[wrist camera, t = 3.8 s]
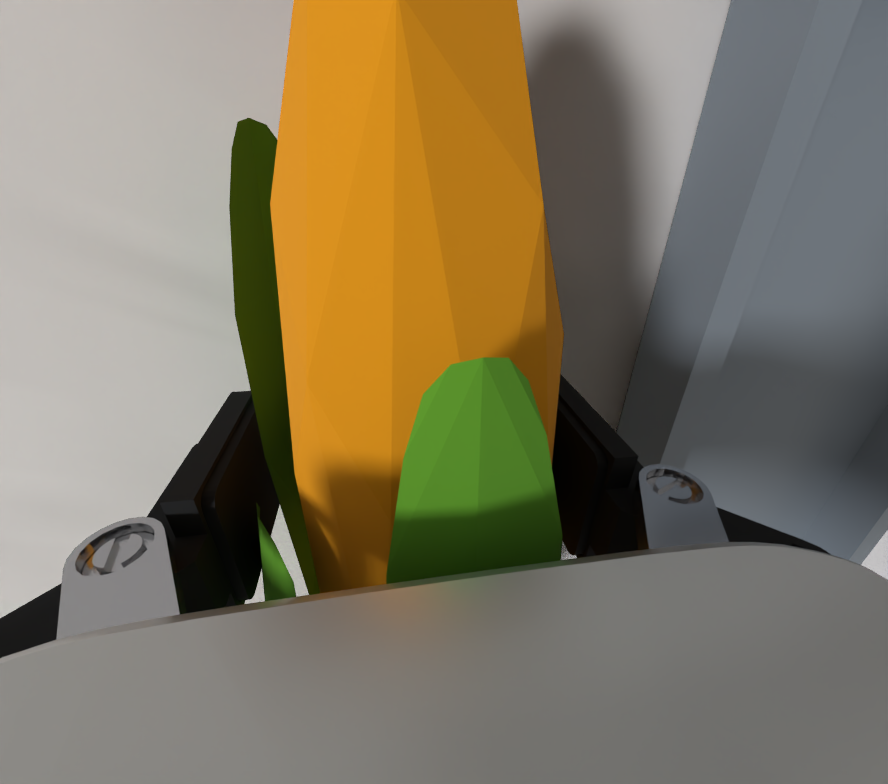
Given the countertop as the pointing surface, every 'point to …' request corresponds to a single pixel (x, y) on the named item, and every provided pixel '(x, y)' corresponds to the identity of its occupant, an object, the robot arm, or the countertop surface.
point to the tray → (780, 281)
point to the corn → (400, 297)
